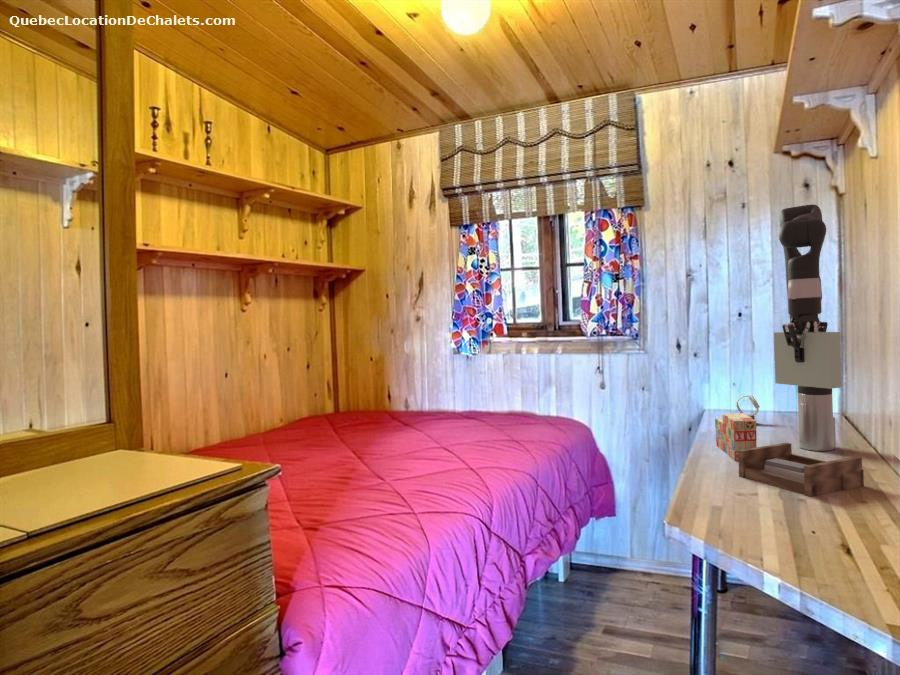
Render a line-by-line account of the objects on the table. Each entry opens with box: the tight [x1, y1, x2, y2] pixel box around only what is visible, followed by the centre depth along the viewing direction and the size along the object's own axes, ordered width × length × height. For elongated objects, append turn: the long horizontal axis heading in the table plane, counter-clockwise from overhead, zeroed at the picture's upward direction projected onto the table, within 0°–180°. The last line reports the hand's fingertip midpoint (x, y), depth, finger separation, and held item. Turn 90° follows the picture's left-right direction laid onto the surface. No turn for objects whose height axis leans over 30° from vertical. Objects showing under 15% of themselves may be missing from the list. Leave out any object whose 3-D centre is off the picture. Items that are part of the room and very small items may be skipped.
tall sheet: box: [773, 331, 843, 390], centre depth 157 cm, size 4×16×14 cm, turn 20°
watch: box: [735, 394, 760, 420], centre depth 229 cm, size 6×8×11 cm
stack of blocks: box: [714, 412, 757, 462], centre depth 185 cm, size 21×6×12 cm, turn 170°
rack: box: [738, 442, 865, 497], centre depth 153 cm, size 18×21×7 cm
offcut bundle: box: [762, 458, 806, 482], centre depth 152 cm, size 5×15×5 cm, turn 21°
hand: (806, 361), depth 157 cm, fingers closed on tall sheet, 4 cm apart
